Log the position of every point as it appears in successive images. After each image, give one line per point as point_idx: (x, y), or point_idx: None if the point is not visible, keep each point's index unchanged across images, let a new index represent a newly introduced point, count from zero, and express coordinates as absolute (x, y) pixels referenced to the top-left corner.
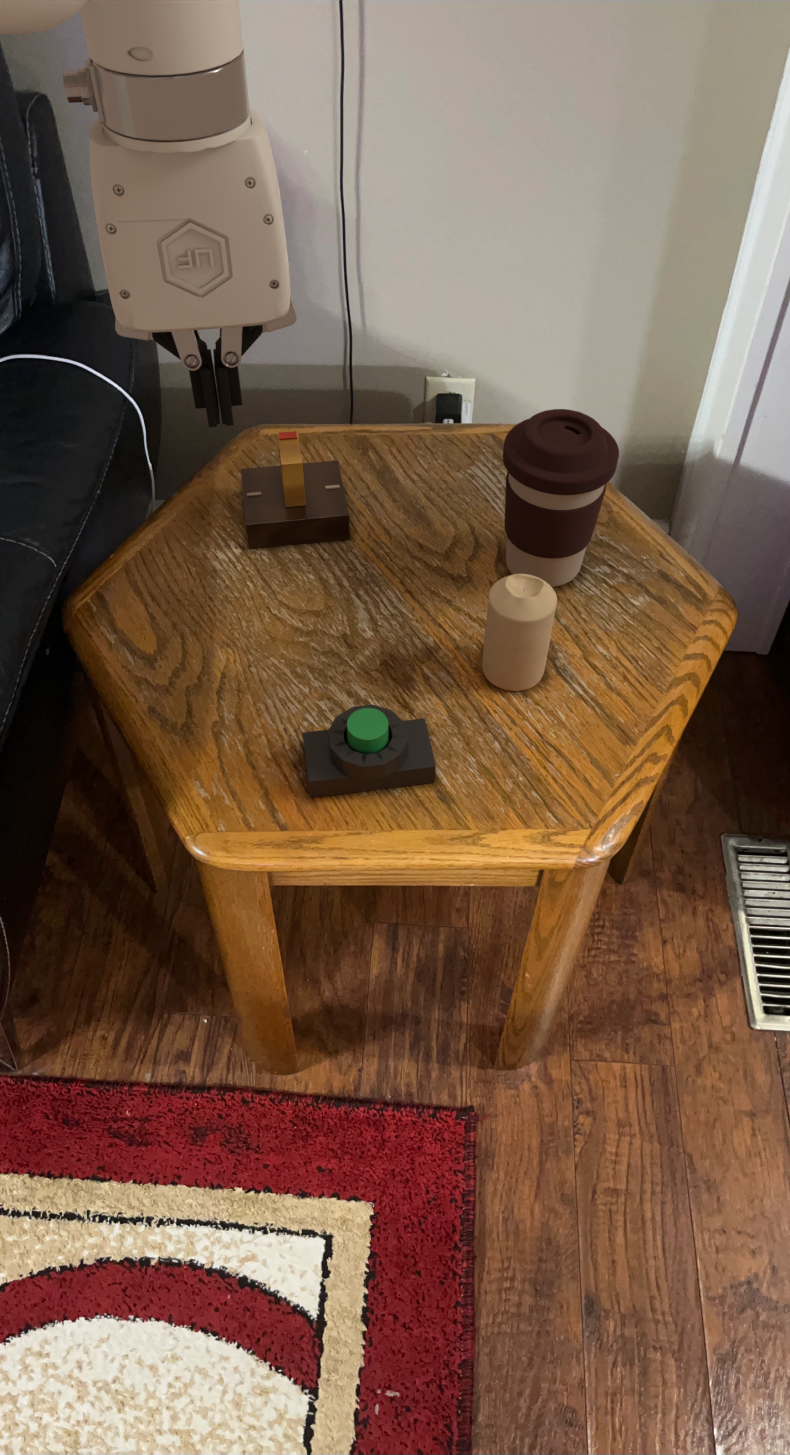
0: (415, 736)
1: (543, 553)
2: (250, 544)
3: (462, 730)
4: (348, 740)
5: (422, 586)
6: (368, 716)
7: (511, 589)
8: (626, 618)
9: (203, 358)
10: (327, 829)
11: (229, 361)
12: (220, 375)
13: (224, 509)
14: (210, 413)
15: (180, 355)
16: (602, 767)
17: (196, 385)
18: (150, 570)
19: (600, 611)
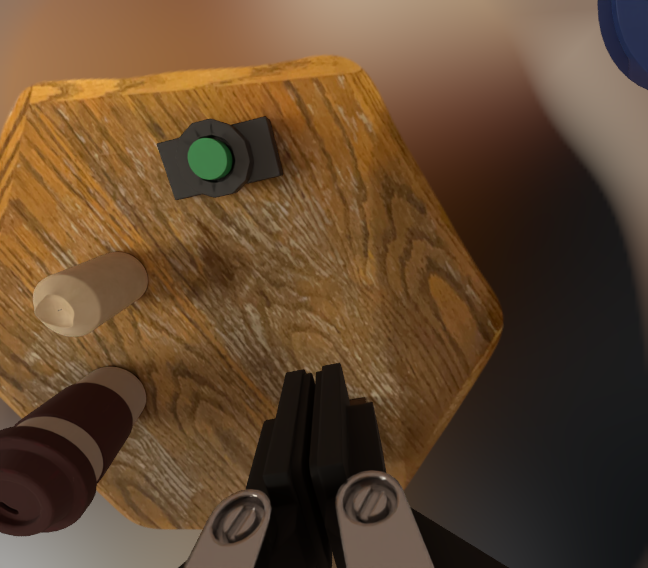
0: (179, 177)
1: (89, 385)
2: (363, 400)
3: (153, 205)
4: (229, 151)
5: (212, 363)
6: (208, 168)
7: (72, 310)
8: (39, 337)
9: (336, 517)
10: (249, 85)
11: (251, 509)
12: (284, 461)
13: (392, 440)
14: (331, 380)
15: (409, 515)
16: (31, 173)
17: (365, 443)
18: (446, 368)
19: (61, 344)
